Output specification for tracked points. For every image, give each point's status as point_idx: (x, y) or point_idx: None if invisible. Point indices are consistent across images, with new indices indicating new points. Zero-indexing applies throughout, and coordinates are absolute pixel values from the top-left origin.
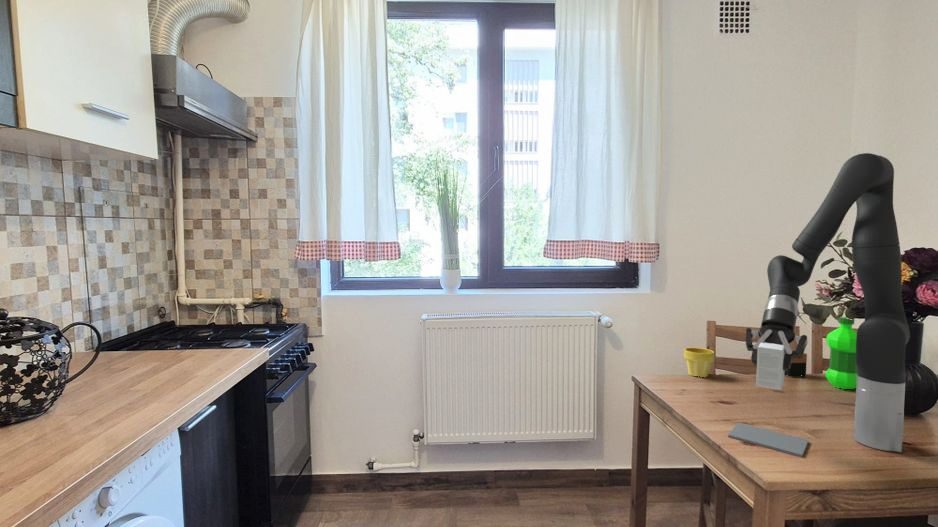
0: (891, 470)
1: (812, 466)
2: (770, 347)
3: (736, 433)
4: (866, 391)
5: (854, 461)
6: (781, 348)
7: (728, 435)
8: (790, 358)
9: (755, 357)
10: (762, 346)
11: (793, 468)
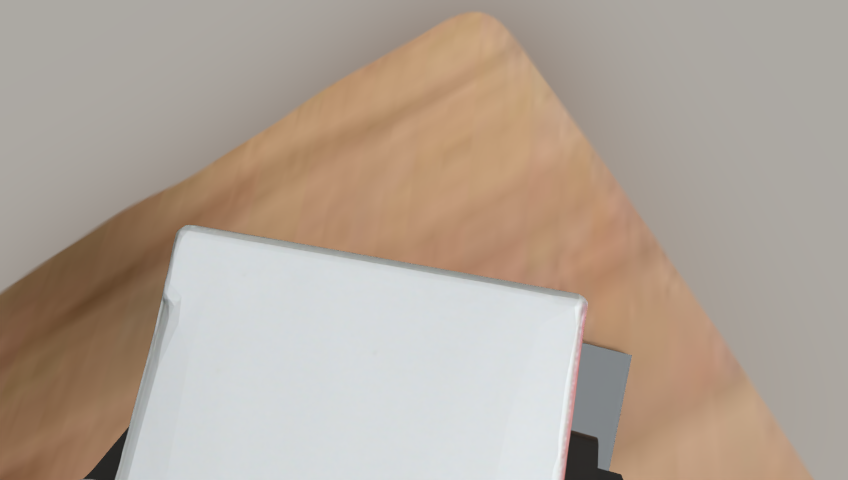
0: (39, 326)
1: (311, 207)
2: (356, 334)
3: (594, 393)
4: None
5: (142, 347)
6: (171, 367)
7: (630, 355)
8: (122, 443)
9: (576, 476)
10: (496, 361)
11: (383, 149)
